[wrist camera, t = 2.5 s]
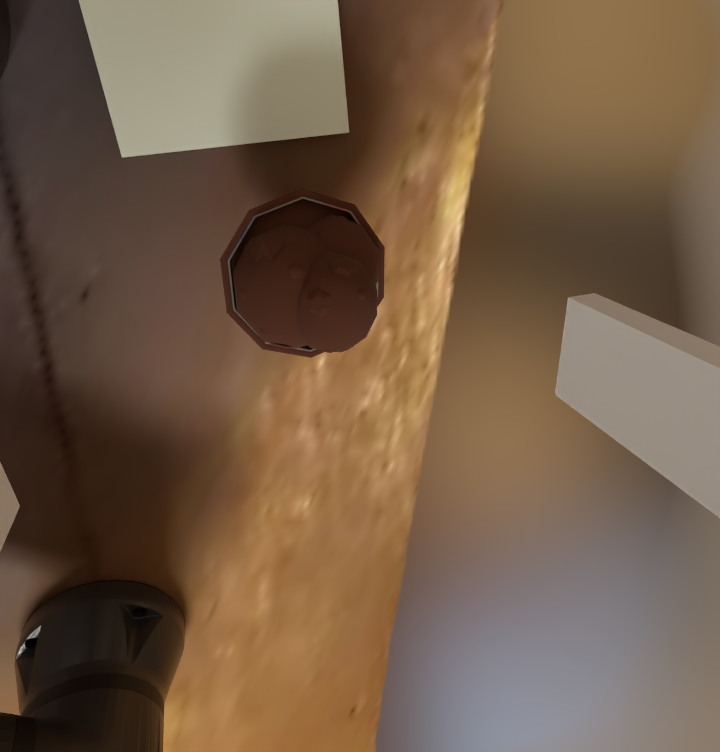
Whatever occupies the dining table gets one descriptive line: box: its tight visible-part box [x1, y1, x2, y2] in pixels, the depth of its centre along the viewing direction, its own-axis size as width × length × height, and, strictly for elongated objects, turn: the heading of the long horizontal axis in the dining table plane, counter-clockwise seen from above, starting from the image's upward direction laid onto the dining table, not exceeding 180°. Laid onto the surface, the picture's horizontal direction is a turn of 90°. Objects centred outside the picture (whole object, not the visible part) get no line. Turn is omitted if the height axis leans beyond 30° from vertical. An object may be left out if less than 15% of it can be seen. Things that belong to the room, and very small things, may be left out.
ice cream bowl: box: [220, 189, 384, 357], centre depth 36 cm, size 11×11×15 cm
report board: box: [79, 0, 349, 158], centre depth 34 cm, size 16×13×1 cm
